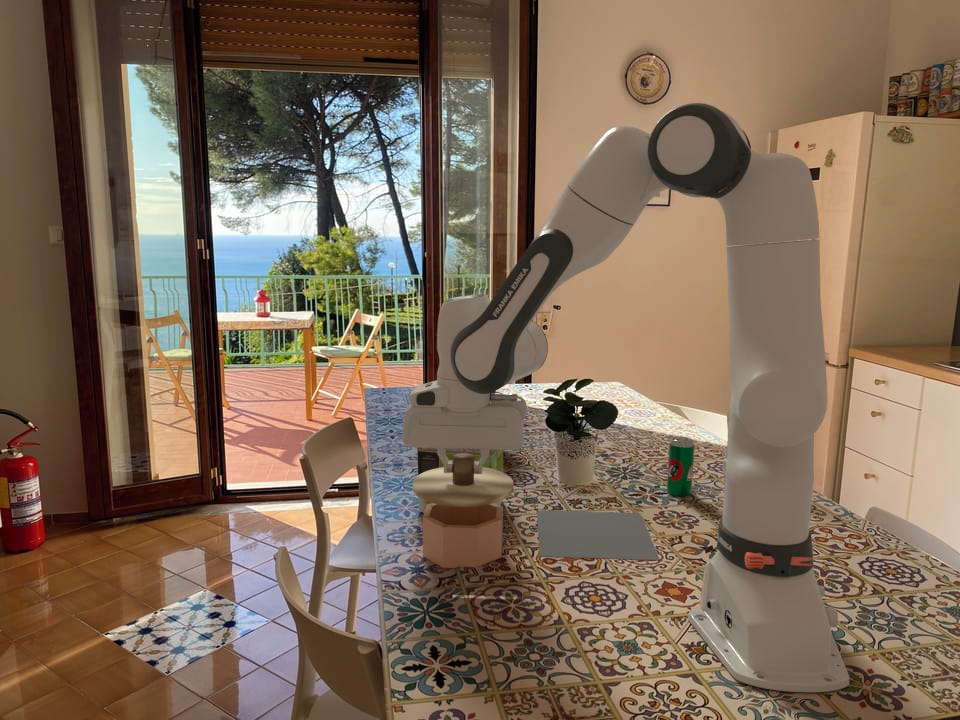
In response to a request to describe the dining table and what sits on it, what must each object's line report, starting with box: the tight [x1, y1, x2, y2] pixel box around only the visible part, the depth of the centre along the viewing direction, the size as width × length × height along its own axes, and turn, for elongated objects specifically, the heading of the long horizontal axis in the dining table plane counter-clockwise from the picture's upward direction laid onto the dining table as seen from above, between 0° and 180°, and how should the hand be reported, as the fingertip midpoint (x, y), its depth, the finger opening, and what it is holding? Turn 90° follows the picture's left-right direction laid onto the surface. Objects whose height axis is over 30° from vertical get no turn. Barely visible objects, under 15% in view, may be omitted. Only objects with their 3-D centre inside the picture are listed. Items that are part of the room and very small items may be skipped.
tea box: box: [416, 447, 504, 514], centre depth 139 cm, size 15×10×15 cm, turn 74°
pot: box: [422, 503, 504, 569], centre depth 121 cm, size 13×13×7 cm
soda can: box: [666, 436, 696, 498], centre depth 147 cm, size 5×5×12 cm
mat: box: [536, 509, 661, 561], centre depth 128 cm, size 20×20×1 cm
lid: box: [412, 453, 515, 507], centre depth 119 cm, size 17×17×6 cm
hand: (463, 472), depth 119 cm, fingers closed on lid, 4 cm apart
